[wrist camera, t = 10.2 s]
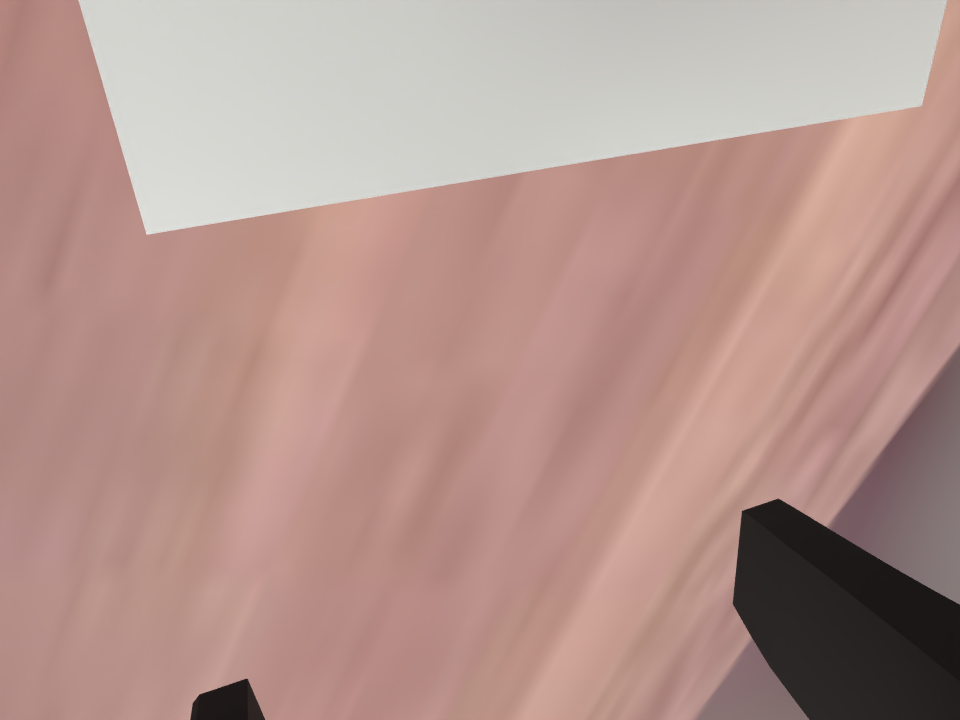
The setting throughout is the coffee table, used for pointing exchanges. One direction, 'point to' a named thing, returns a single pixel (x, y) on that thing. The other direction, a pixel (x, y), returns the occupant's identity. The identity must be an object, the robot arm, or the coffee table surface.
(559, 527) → the coffee table surface
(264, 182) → the socket block
